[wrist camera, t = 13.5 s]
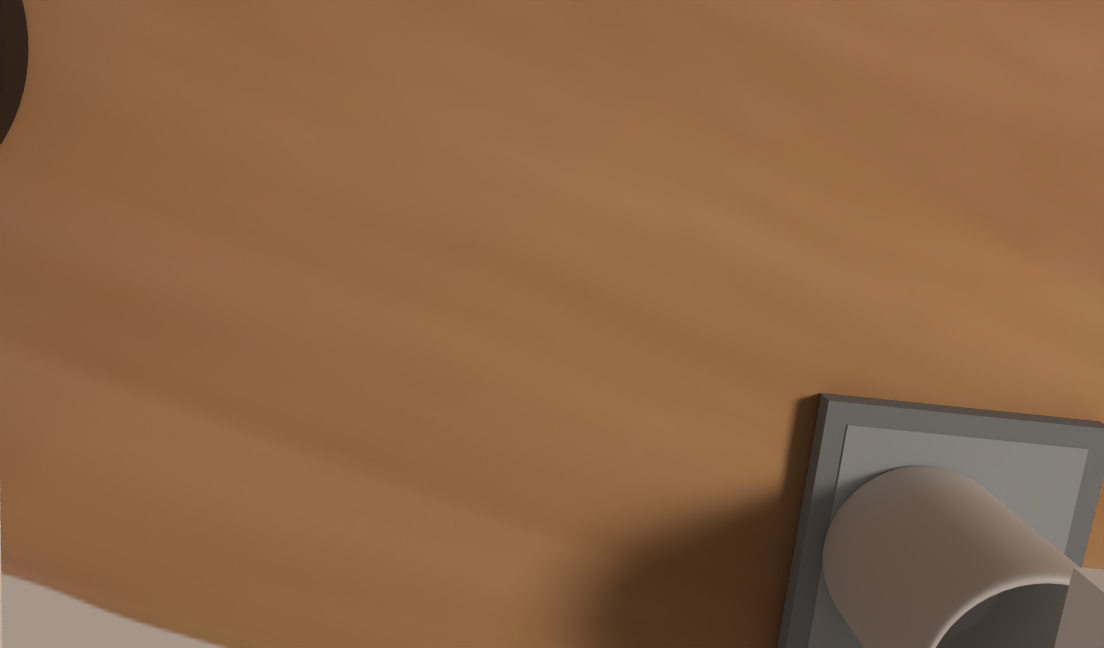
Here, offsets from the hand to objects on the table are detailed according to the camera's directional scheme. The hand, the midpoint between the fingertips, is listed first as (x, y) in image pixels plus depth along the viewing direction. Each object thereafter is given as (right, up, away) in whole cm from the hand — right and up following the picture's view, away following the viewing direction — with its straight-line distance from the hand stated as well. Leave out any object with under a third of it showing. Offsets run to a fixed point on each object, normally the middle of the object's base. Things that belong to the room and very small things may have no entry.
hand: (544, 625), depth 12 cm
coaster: (+18, -7, +35) cm, 40 cm away
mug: (+18, -7, +34) cm, 39 cm away
